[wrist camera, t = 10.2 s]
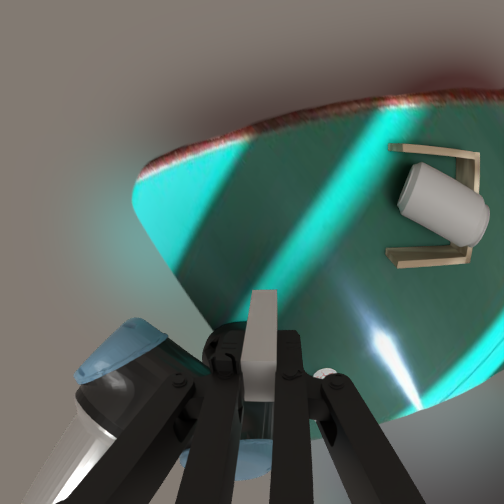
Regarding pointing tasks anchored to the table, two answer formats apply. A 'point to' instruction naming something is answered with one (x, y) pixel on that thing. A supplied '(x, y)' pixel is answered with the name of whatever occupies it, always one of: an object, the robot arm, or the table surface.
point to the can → (444, 205)
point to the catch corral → (451, 253)
